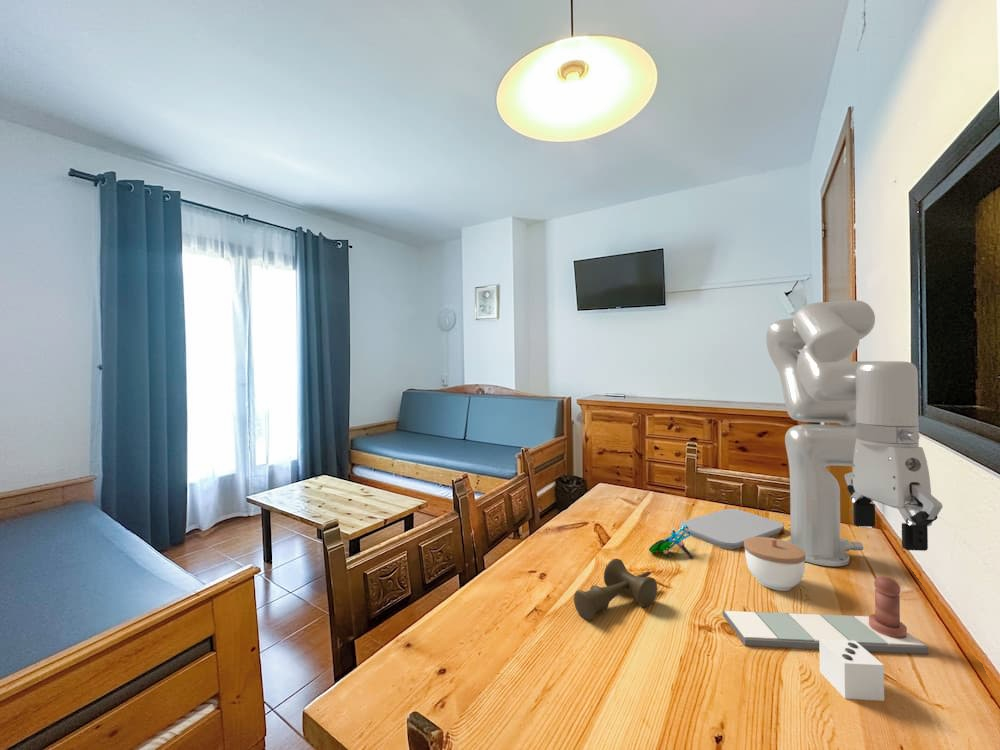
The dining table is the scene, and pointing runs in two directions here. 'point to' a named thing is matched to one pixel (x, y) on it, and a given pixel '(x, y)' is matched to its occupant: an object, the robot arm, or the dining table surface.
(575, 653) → the dining table surface
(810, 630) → the track board
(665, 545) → the stick construction toy
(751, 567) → the lidded jar
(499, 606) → the dining table surface
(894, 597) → the pawn
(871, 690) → the die
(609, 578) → the kendama
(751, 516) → the tablet
